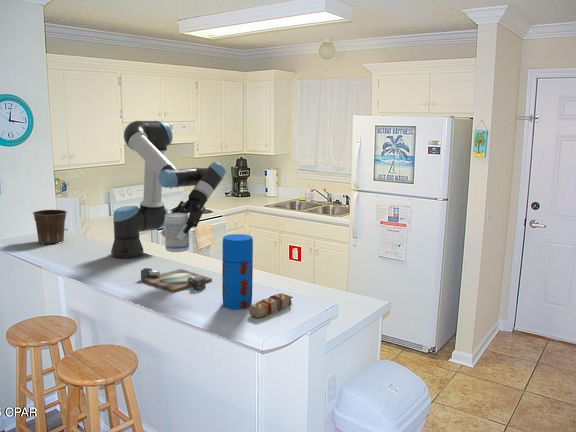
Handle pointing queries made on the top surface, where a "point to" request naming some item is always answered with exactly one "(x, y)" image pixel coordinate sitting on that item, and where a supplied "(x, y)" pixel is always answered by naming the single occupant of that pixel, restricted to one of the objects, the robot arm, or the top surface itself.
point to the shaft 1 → (149, 273)
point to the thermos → (237, 271)
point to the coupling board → (174, 280)
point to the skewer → (270, 305)
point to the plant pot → (50, 225)
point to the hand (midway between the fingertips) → (170, 237)
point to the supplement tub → (175, 232)
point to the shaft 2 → (197, 283)
